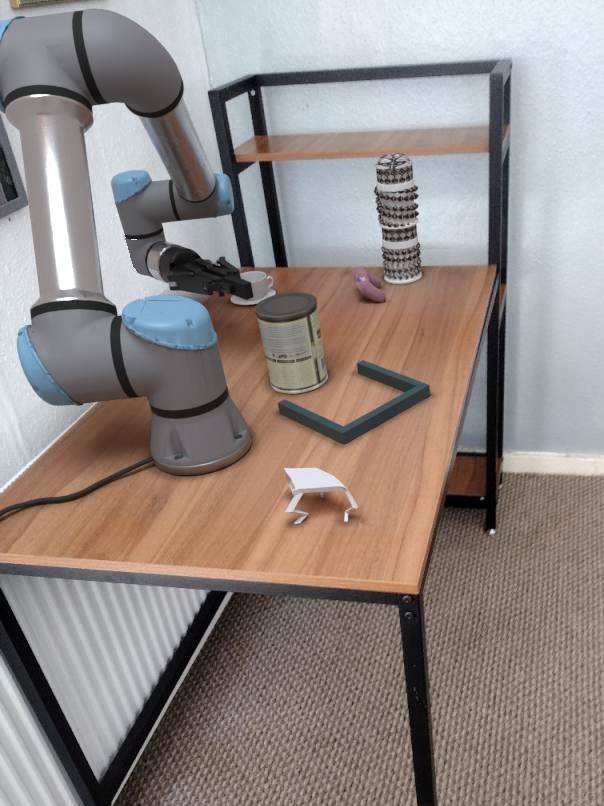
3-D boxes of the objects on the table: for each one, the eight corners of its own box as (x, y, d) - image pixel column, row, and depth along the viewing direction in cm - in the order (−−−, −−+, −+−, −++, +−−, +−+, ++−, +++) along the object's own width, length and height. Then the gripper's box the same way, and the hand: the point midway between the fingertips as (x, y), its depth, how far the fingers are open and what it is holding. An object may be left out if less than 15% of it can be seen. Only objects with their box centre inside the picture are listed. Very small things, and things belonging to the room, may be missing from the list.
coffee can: (264, 375, 141) (249, 299, 133) (320, 362, 143) (308, 287, 135) (276, 399, 133) (261, 320, 125) (335, 386, 135) (323, 307, 127)
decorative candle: (397, 287, 169) (387, 164, 155) (374, 277, 176) (362, 157, 161) (432, 276, 173) (425, 154, 158) (408, 266, 180) (399, 148, 165)
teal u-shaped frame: (279, 413, 129) (277, 402, 128) (364, 370, 139) (362, 359, 138) (344, 444, 119) (342, 433, 118) (430, 395, 129) (429, 384, 128)
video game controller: (365, 295, 172) (347, 268, 168) (382, 283, 171) (365, 256, 167) (369, 312, 164) (351, 284, 160) (388, 300, 163) (369, 272, 159)
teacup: (236, 310, 168) (231, 289, 165) (226, 295, 175) (222, 275, 172) (281, 300, 170) (277, 278, 167) (269, 286, 178) (266, 265, 175)
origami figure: (267, 525, 104) (260, 494, 102) (291, 489, 111) (286, 459, 108) (352, 535, 101) (348, 504, 98) (372, 497, 107) (368, 467, 104)
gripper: (209, 274, 156) (282, 299, 142) (152, 295, 150) (222, 324, 135) (200, 236, 152) (274, 258, 137) (141, 256, 145) (212, 281, 131)
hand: (248, 291), depth 136 cm, fingers closed
